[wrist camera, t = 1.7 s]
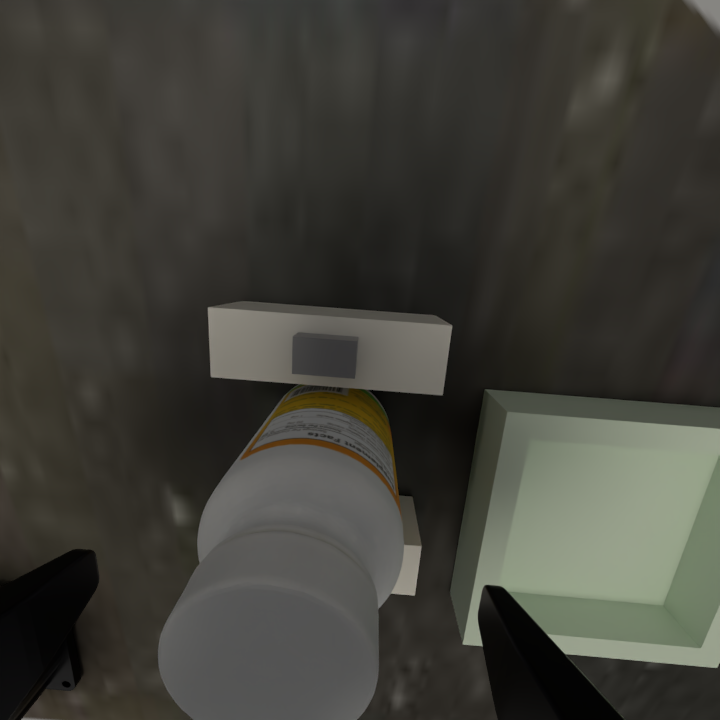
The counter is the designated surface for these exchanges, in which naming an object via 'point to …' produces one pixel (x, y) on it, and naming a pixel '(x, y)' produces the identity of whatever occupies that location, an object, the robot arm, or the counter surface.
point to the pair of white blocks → (335, 363)
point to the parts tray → (596, 524)
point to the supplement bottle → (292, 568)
